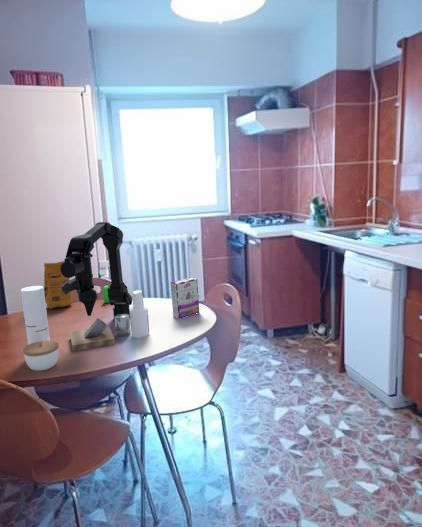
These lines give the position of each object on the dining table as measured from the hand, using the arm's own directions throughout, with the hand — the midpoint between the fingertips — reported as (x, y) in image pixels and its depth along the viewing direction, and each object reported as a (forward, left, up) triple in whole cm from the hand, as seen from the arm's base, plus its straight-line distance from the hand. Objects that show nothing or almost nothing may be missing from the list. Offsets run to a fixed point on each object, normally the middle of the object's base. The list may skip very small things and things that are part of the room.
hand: (88, 312), depth 158 cm
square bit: (+1, +1, -10) cm, 10 cm away
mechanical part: (-17, -57, -12) cm, 60 cm away
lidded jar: (+17, +17, -12) cm, 27 cm away
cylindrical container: (+18, +7, -12) cm, 22 cm away
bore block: (0, +1, -12) cm, 12 cm away
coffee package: (+10, -59, -12) cm, 61 cm away
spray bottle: (-18, +3, -12) cm, 22 cm away
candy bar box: (-41, -12, -12) cm, 45 cm away
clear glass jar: (-12, -1, -12) cm, 17 cm away
